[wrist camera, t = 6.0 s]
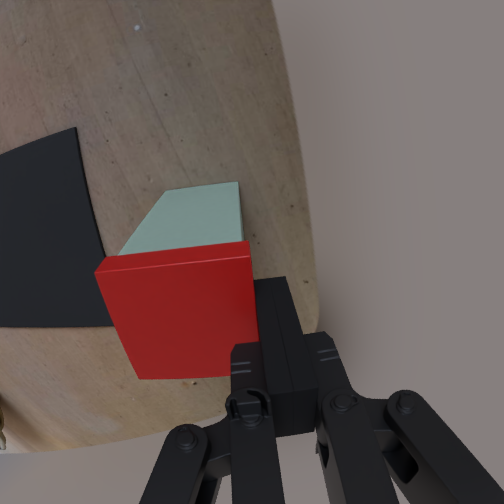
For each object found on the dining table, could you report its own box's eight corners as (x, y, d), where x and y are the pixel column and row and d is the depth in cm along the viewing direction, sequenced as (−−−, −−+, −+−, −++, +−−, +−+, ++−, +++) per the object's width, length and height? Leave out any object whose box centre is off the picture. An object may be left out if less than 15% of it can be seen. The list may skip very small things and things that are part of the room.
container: (241, 177, 24) (250, 255, 12) (249, 251, 27) (263, 373, 15) (161, 187, 24) (93, 272, 12) (175, 259, 27) (138, 379, 15)
